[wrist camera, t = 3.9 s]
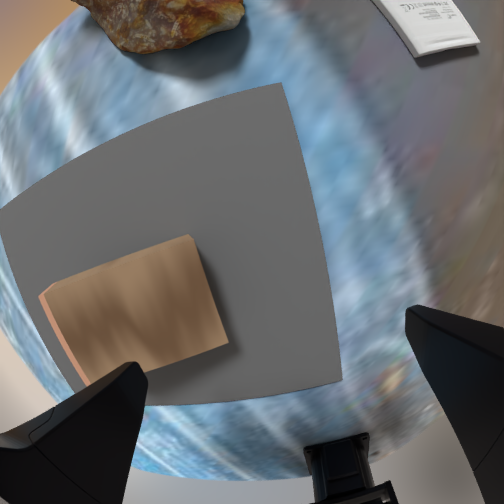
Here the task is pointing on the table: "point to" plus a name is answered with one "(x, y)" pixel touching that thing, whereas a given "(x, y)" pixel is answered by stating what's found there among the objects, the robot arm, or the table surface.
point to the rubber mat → (196, 241)
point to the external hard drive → (428, 25)
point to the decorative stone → (162, 21)
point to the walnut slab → (135, 311)
